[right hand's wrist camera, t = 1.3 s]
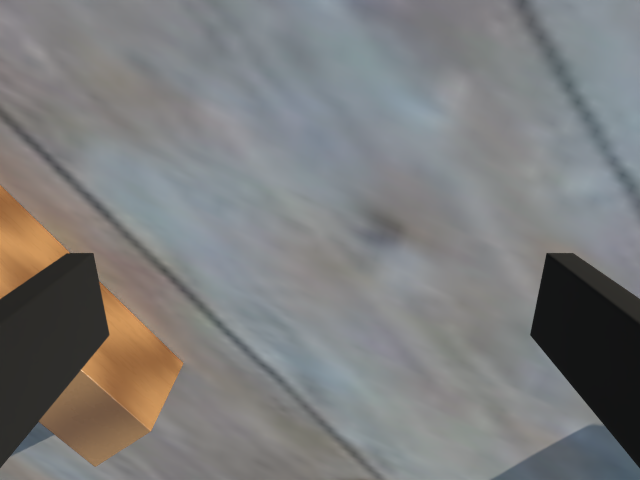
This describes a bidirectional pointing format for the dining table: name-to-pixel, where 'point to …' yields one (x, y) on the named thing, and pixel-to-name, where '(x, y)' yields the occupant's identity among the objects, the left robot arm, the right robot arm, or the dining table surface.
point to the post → (104, 366)
